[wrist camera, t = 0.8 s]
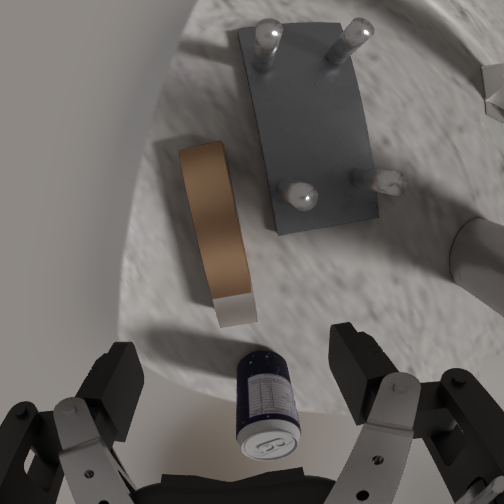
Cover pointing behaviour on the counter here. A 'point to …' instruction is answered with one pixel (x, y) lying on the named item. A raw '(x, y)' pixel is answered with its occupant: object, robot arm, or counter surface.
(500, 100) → the skyscraper
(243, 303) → the brown wooden bar
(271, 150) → the peg rack
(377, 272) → the counter surface
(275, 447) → the beverage can
